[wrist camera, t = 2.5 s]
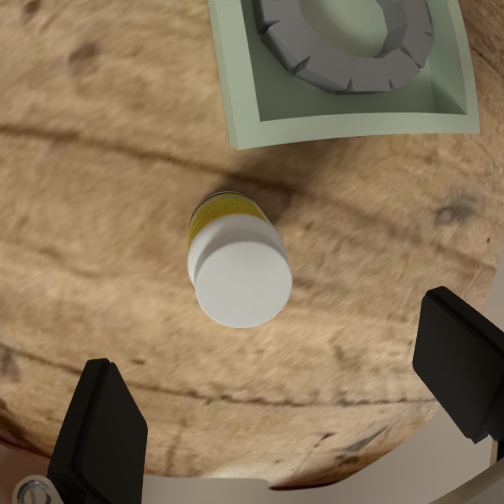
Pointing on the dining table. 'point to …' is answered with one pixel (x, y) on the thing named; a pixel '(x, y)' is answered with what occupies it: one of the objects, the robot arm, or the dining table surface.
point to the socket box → (342, 69)
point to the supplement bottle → (237, 261)
